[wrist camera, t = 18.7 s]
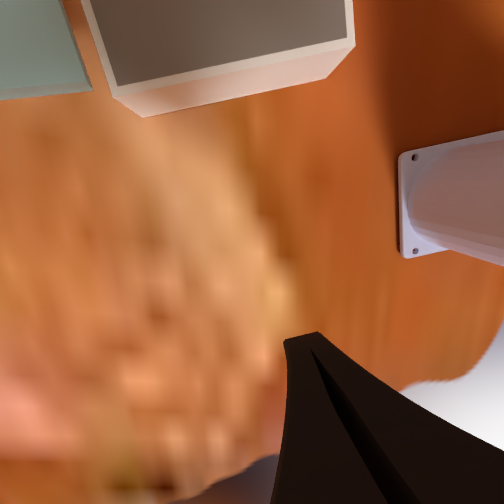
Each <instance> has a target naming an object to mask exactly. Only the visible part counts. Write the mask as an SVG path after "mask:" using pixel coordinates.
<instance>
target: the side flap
mask: <svg viewBox="0 0 504 504" xmlns="http://www.w3.org/2000/svg"><path fill="white" fill-rule="evenodd" d="M86 91H93V88H92V85H91V82H90V79H89V76H88V74H87V71H86V68H85V65H84V62H83V59H82V56H81V54H80V51H79V48H78V45H77V42H76V39H75V37H74V34H73V31H72V28H71V25H70V22H69V20H68V17H67V14H66V11H65V8H64V5H63V3H62V0H0V100H9V99H18V98H28V97H38V96H47V95H57V94H66V93H76V92H86Z"/></svg>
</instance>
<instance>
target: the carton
mask: <svg viewBox="0 0 504 504" xmlns="http://www.w3.org/2000/svg"><path fill="white" fill-rule="evenodd" d="M80 1H81V4H82V7H83V10H84V13H85V16H86V18H87V21H88V24H89V27H90V30H91V33H92V36H93V39H94V42H95V45H96V48H97V51H98V54H99V57H100V60H101V63H102V66H103V69H104V72H105V75H106V78H107V81H108V84H109V87H110V90H111V93H112V96H113V98H114V99H116V100H117V101H118V102H120V103H121V104H123V105H124V106H126V107H127V108H129V109H130V110H132V111H133V112H135V113H136V114H138V115H139V116H141V117H142V118H145V117H150V116H154V115H159V114H164V113H168V112H173V111H178V110H182V109H187V108H192V107H196V106H201V105H206V104H210V103H215V102H220V101H224V100H229V99H233V98H238V97H243V96H247V95H252V94H257V93H261V92H266V91H271V90H275V89H280V88H285V87H289V86H294V85H299V84H303V83H308V82H313V81H317V80H322V79H326V78H327V76H328V75H329V74H330V73H331V72H332V71H333V70H334V69H335V68H336V67H337V65H338V64H339V63H340V62H341V61H342V60H343V59H344V58H345V57H346V56H347V55H348V53H349V52H350V51H351V50H352V49H353V48H354V47H355V32H354V17H353V1H352V0H80Z"/></svg>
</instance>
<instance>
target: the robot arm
mask: <svg viewBox="0 0 504 504" xmlns="http://www.w3.org/2000/svg"><path fill="white" fill-rule="evenodd" d="M412 155H414V156H415V158H414V160H413V161H412V159H411V158H412ZM398 184H399V225H400V254H401V256H402V257H404V258H413V257H417V256H422V255H426V254H431V253H435V252H439V251H444V250H448V249H450V250H453V251H457V252H460V253H463V254H466V255H469V256H472V257H475V258H478V259H481V260H485V261H488V262H491V263H494V264H497V265H500V266H503V267H504V130H502V131H498V132H493V133H489V134H484V135H479V136H475V137H470V138H466V139H461V140H457V141H452V142H448V143H443V144H438V145H434V146H429V147H425V148H420V149H416V150H411V151H407V152H403V153H402V154H401V155H400V156H399V158H398ZM414 248H415V251H414V252H413V253H412V251H413V249H414ZM283 344H284V349H285V354H286V359H287V398H286V412H285V421H284V430H283V437H282V444H281V450H280V457H279V462H278V467H277V472H276V478H275V483H274V488H273V492H272V497H271V502H270V504H504V451H503V450H501V449H499V448H497V447H494V446H493V445H491V444H489V443H487V442H485V441H483V440H481V439H479V438H477V437H475V436H473V435H472V434H470V433H467V432H465V431H464V430H462V429H460V428H458V427H456V426H454V425H452V424H450V423H449V422H447V421H445V420H443V419H442V418H440V417H438V416H436V415H434V414H432V413H431V412H429V411H428V410H426V409H424V408H423V407H421V406H419V405H417V404H416V403H414V402H413V401H411V400H409V399H408V398H406V397H405V396H403V395H402V394H400V393H399V392H397V391H395V390H394V389H392V388H391V387H389V386H388V385H387V384H385V383H384V382H382V381H381V380H379V379H378V378H376V377H375V376H374V375H372V374H371V373H369V372H368V371H367V370H365V369H364V368H363V367H361V366H360V365H359V364H357V363H356V362H355V361H353V360H352V359H351V358H349V357H348V356H347V355H346V354H344V353H343V352H342V351H341V350H339V349H338V348H337V347H336V346H335V345H333V344H332V343H331V342H330V341H329V340H328V339H326V338H325V337H324V336H323V335H322V334H321V333H319V332H318V331H317V332H313V333H309V334H305V335H301V336H297V337H293V338H289V339H285V341H284V342H283Z"/></svg>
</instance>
